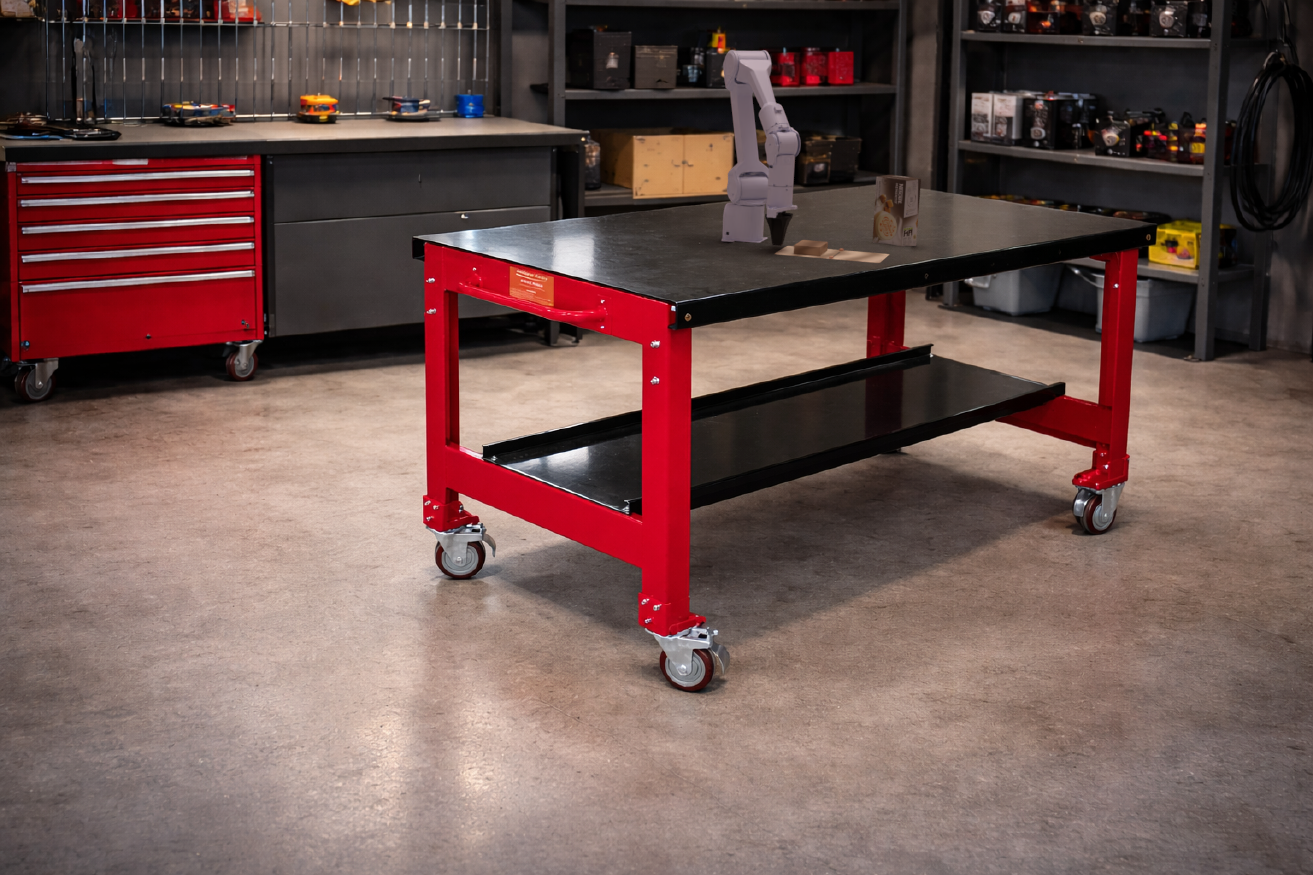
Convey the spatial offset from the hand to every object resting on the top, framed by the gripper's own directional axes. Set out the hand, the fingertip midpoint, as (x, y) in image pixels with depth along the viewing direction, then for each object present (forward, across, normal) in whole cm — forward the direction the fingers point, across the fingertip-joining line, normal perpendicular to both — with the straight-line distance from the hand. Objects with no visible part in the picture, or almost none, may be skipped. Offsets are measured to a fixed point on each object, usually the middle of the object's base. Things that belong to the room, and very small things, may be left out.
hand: (777, 245), depth 313 cm
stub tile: (+1, 0, -8) cm, 8 cm away
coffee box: (+2, +23, -23) cm, 32 cm away
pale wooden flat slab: (+2, 0, -13) cm, 13 cm away
